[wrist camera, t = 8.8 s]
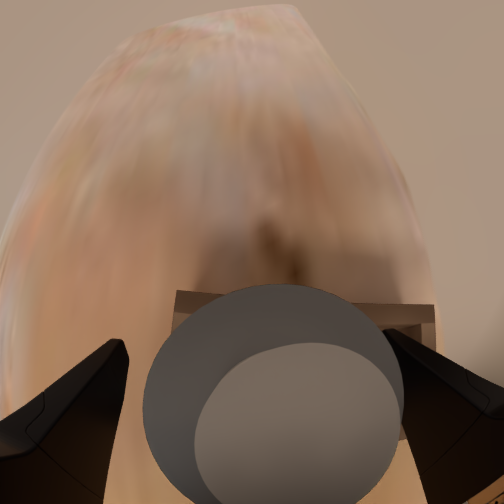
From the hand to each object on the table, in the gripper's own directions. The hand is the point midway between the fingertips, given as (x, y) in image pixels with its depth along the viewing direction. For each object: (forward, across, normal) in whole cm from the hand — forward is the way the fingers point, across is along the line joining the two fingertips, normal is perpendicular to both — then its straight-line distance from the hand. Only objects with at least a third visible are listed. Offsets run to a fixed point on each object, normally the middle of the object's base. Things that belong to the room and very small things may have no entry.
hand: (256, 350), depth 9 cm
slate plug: (+5, 0, +7) cm, 8 cm away
